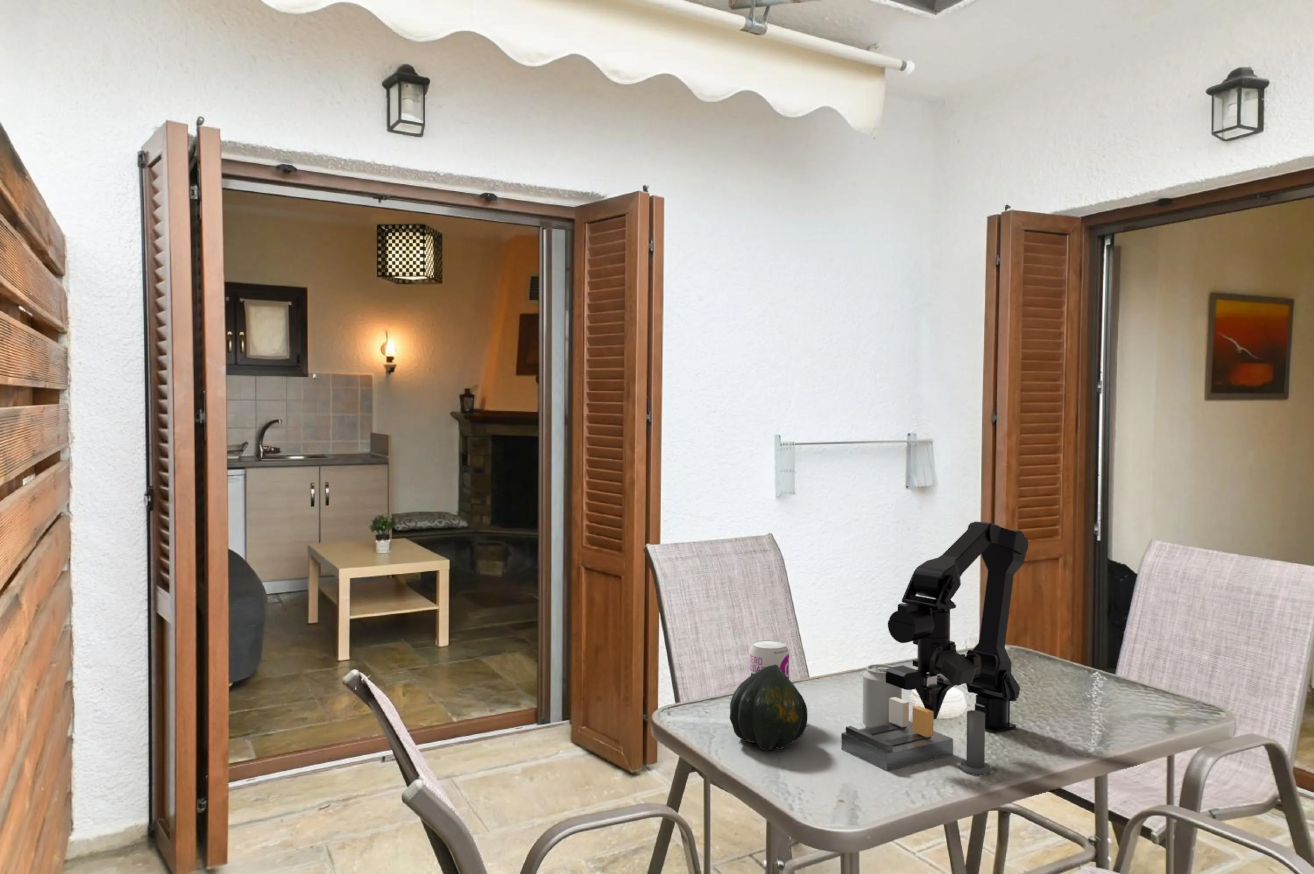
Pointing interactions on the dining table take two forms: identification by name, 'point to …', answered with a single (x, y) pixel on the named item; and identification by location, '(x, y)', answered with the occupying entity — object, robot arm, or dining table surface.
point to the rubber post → (975, 745)
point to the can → (877, 695)
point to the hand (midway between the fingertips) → (932, 718)
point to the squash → (768, 709)
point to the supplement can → (768, 656)
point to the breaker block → (894, 745)
